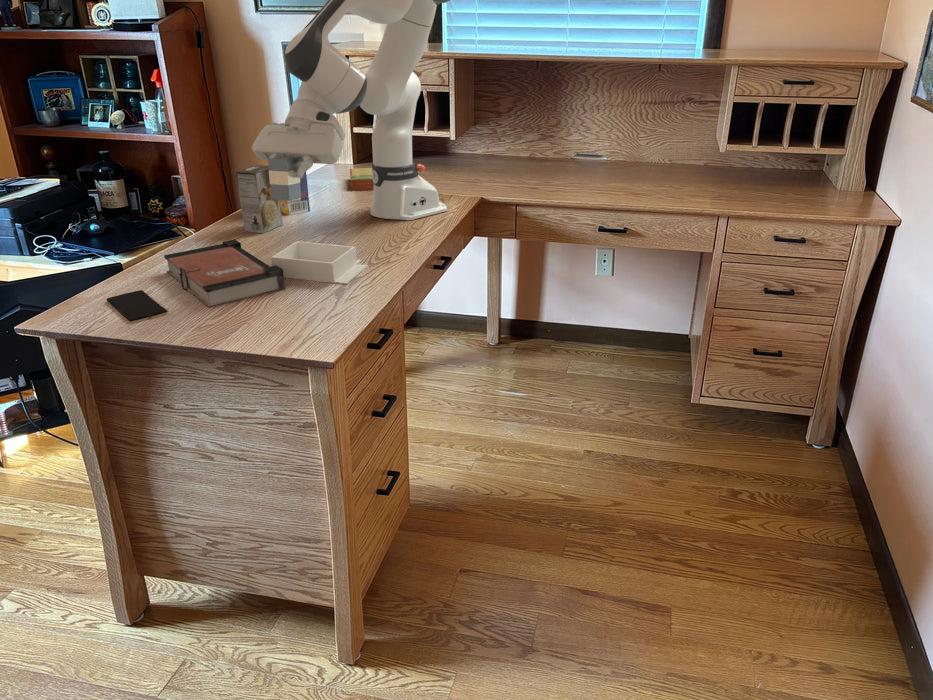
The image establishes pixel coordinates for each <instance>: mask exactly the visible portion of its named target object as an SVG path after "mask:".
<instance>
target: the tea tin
mask: <svg viewBox="0 0 933 700" xmlns="http://www.w3.org/2000/svg"><path fill="white" fill-rule="evenodd" d="M267 166H269V180H270V187H271V198H272V199H275V200H289V201H290V200H294V199H297V198H301V188H300V178H296V177H295V176H294V174H293V171H294V168H295V166H296V167H299V162H298V157H285V156H279V157H273V158H268V164H267Z"/></svg>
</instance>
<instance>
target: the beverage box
mask: <svg viewBox="0 0 933 700" xmlns="http://www.w3.org/2000/svg"><path fill="white" fill-rule="evenodd" d="M266 162H267V164H266V165H268V161H266ZM300 164H301V163H300V162H299V165H300ZM300 188H301V198H297V199H294V200H290V201H289V200H280V207H281V213H282V214H285V215H287V216H292V215H297V214H303V213H308V212H311V208H310V200H309V198H310V197H309V187H308V177H307V171H306V172H304V175H303V177H302V178H300Z"/></svg>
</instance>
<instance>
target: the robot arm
mask: <svg viewBox="0 0 933 700" xmlns="http://www.w3.org/2000/svg"><path fill="white" fill-rule="evenodd" d="M450 1H451V0H327V1H326V2H325V4H323V6H322V7H321V8H320V10H318V12H317V13H316V14H315V15H314V16H313V18H312V19H311V20H310V21H309V22H308V23H307V24H306V25H305V26H304V28H303V29H302V30H301V31H300V32H298V33H297V34H296V35H295V36H294V37H293V38H292V39H291V40H290V41H289V42H288V44H287V46H286V48H285V51H284V52H283V56H284V61H285V66H286V68H287V72H288V73H289V74H291V75H293V76H294V77H295V78H297V79H299V81H301V84H300V86H299V88H298V92H297V97H296V99H294V101H293V102H292V104H291V107H290V108H289V111H288V112H287V113H288V114H287V116H286V117H285V120H284V122H279V123H278V122H271V123H270V124H268V125H265V126H264V127H263V128H262V129H261V130H260V132H259V133H258V135H257V137H256V138H255V140H254V141H253V144H252V146H251V151H252V152H253V154H254V155H255V157H256V158H257V159H258V160H259V161H266V162H267V161H268V158H273V157H279V156H285V157H298V162H300V163H301V164H300V165H299V167H296V166H295V168H294V171H293V174H294V176H295V177H296V178H302V177H303V175H304V172H306V173H307V171H309V169H311V168H312V167H313V165H314V164H318V165H319V164H321V165H322V164H323V165H334V164H335V163H337V162H338V161H339V159H340V157H341V153H342V150H343V146H344V142H343V141H344V140H345V138H346V133H345V131H344V128H343V126H342V125H341V123H340V121H339V120H338V119H337V117H336V116H335V114H336V115H337V114H344V113H349V112H353V111H355V110H356V109H357V108H358V107H359V106H360V109H362V110H363V111H364V112H365V113H367V114H370V115H373V116H376V117H377V118H376V123H375V125H374V126H375V127H374V129H373V131H372V134H371V145H372V148H371V149H372V164H371V168H372V179H373V184H374V190H372V192H373V193H372V201H371V208H370V211H369V214H370V215H371V216H372V217H375V218H379V219H387V220H401V221H413V220H416V219H417V220H418V219H420V218H424V217H428V216H433V215H436V214H442V213H445V212H447V211H448V208H447V205H446V204H445V203H443V202H441V201H440V197H439V193H438V191H437V189H436V187H435V186H434V185H432V184H431V183H430V182H428V181H427V179H424V177H421V176H420V175H419V172H420V173H424V172H425V170H426V167H425V165H423V164H421V163H419V164H417V163H415V162H413V130H414V129H413V128H414V122H415V115H416V108H417V104H418V103H417V102H418V100H419V97H420V95H421V92H422V85H421V81H420V79H419V77H418V75H417V74H416V73H415V72H414V70H415V68H416V67H417V64H418V63H419V61H420V60H421V59H422V57H423V55H424V52H425V49H426V46H427V43H428V39H429V36H430V34H431V30H432V27H433V23H434V19H435V16H436V11H437V7H438V6H439V5H440V4H445V3H447V2H450ZM346 14H351V15H355V16H358V17H361V18H363V19H365V20H367V21H369V22H372V23H375V24H382V25H385V29H384V32H383V35H382V39H381V40H380V44H379V46H378V49H377V51H376V53H375V55H374V56H373V58H372V61H371V63H370V65H369V68H368V69H367V72H366V74H365V73H364V71H362V70H361V68H359V67H358V65H356V64H355V63H354V62H353V61H351V60H350V59H349V58H347V57H346V56H345V55H344V54H343V53H342V52H340V51H339V50H338V49H337V47H335V46H334V45H332V43H331V42H330V41H329V34H330V33H331V32H332V31H333V29H334V28H336V26H337V25H338V24H339V23H340V21H341V20H342V19H343V18H344V17H345V16H346Z"/></svg>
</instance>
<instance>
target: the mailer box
mask: <svg viewBox="0 0 933 700" xmlns="http://www.w3.org/2000/svg"><path fill="white" fill-rule="evenodd" d="M270 259H271V261H270V262H271V266H275V265H277V266H278V267H280V268H282V269H283V274H284V278H288V279H295V280H304V281H305V280H306V281H314V282H323V283H331V284H341V285H347V284H349V283H350V282H352V281H353V280H354V279H355V278H356V277H357V276H358V275H360V274H361V273H362V272H363V271H364V270H366V269H367V268H368V267H369V265H368V264H360V263H361V262H362V259H357V256H356V246H351V245H350V246H348V245H341V244H339V245H338V244H329V243H318V242H311V241H310V242H309V241H298V240H297V241H295V242H293V243H291V244H289V245H288V246H287V247H284V248H283V249H282V250H280V251H278V252H277V253H275V254H274V255H272V256H270Z"/></svg>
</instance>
